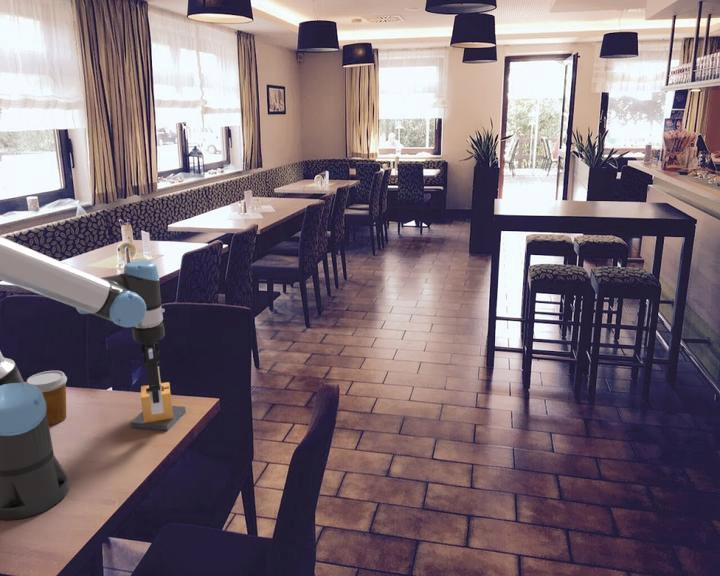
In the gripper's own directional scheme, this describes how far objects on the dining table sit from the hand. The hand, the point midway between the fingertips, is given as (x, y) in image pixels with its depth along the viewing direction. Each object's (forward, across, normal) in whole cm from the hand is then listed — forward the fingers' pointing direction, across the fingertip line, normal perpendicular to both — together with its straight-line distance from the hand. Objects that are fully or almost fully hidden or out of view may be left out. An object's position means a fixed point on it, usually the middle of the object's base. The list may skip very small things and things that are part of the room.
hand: (156, 401), depth 154 cm
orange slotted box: (+4, 0, 0) cm, 4 cm away
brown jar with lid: (+5, +10, +26) cm, 29 cm away
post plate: (+5, 0, 0) cm, 5 cm away
